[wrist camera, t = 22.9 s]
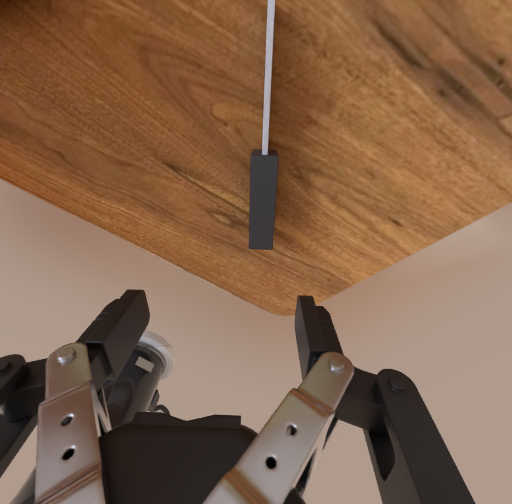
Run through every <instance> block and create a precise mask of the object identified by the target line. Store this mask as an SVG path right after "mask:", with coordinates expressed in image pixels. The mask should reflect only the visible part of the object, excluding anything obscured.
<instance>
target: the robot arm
mask: <svg viewBox="0 0 512 504" xmlns="http://www.w3.org/2000/svg"><path fill="white" fill-rule="evenodd" d="M149 318H150V313H149V308H148V303H147V299H146V295H145V292H144V290H126V292H125V293H124V294H123V295H122V296H121V298H120V299H116V300H114V301H112V302H111V303H110V304H108V305H107V306H106V307H105V308H104V309H103V310H102V312H101V314H99V315H98V317H97V318H96V319H95V320H94V321H93V322H92V324H91V325H90V326H89V327H88V328H87V329H86V331H85V332H84V333H83V334H82V335H81V336H80V338H79V339H78V340H77V341H76V342H75V343H70V344H67V345H64V346H62V347H60V348H58V349H57V350H55V351H54V352H53V353H52V354H51V355H50V356H49V357H48V358H47V359H42V360H37V361H32V362H28V363H27V362H26V361H25V359H24V358H23V356H21V355H17V354H14V355H8V356H4V357H1V358H0V413H1V414H0V477H1V476H2V475H3V473H4V471H5V470H6V469H7V467H8V466H9V464H10V463H11V461H12V460H13V459H14V457H15V456H16V454H17V453H18V451H19V450H20V448H21V447H22V445H23V444H24V443H25V441H26V440H27V438H28V437H29V435H30V434H31V432H32V431H33V429H34V428H35V427H36V425H37V424H38V428H37V457H36V466H35V467H34V469H33V470H32V472H31V473H30V475H29V476H28V478H27V479H26V481H25V482H24V484H23V485H22V487H21V488H20V490H19V491H18V493H17V494H16V495H15V497H14V498H13V499H12V501H11V502H10V503H9V504H306V503H305V502H304V500H303V497H304V495H305V493H306V491H307V489H308V487H309V485H310V482H311V481H312V478H313V476H314V474H315V472H316V469H317V467H318V464H319V462H320V459H321V457H322V455H323V453H324V451H325V449H326V447H327V444H328V442H329V440H330V438H331V436H332V434H333V432H334V430H335V428H336V426H337V424H338V422H339V420H341V421H344V422H347V423H349V424H352V425H354V426H357V427H360V428H362V429H363V431H364V435H365V439H366V442H367V446H368V450H369V454H370V458H371V461H372V465H373V469H374V472H375V476H376V480H377V484H378V487H379V492H380V495H381V499H382V503H383V504H475V502H474V500H473V498H472V496H471V494H470V492H469V490H468V488H467V486H466V485H465V482H464V481H463V478H462V476H461V475H460V473H459V471H458V469H457V467H456V465H455V463H454V461H453V459H452V457H451V455H450V453H449V451H448V449H447V447H446V445H445V443H444V441H443V439H442V437H441V435H440V433H439V431H438V429H437V427H436V425H435V423H434V421H433V419H432V417H431V415H430V413H429V411H428V409H427V407H426V405H425V404H424V401H423V399H422V398H421V396H420V394H419V392H418V390H417V388H416V386H415V384H414V383H413V382H412V380H411V379H410V378H408V377H407V376H406V375H405V374H403V373H401V372H399V371H396V370H393V369H383V370H381V371H380V372H379V373H378V374H377V375H375V374H372V373H368V372H366V371H362V370H360V369H358V368H356V367H354V366H353V365H352V363H351V361H350V360H349V359H348V358H347V357H346V356H344V354H343V352H342V349H341V346H340V343H339V340H338V337H337V334H336V331H335V329H334V326H333V323H332V320H331V316H330V313H329V312H328V311H327V310H326V309H325V308H324V307H323V306H315V302H314V298H313V296H300V295H298V297H297V305H296V313H295V333H296V340H297V346H298V353H299V360H300V366H301V373H302V380H303V382H302V383H301V384H300V386H299V387H298V388H297V389H295V388H293V389H292V390H291V391H290V392H289V393H288V394H287V396H286V397H285V398H284V400H283V401H282V402H281V404H280V405H279V406H278V408H277V409H276V410H275V412H274V413H273V415H272V416H271V417H270V419H269V420H268V422H267V423H266V424H265V426H264V427H263V428H262V430H261V431H260V433H259V434H258V433H256V432H255V431H254V430H252V429H250V428H248V427H246V426H244V425H241V416H235V415H234V416H233V415H212V416H207V417H203V418H198V419H194V420H189V421H185V420H181V419H179V418H176V417H173V416H170V413H169V411H168V409H167V408H166V407H165V406H163V405H158V406H156V405H157V402H158V400H159V393H158V390H156V388H157V386H158V384H159V381H160V379H161V376H162V374H163V373H164V371H165V368H166V360H165V358H164V356H163V355H162V354H161V352H160V351H159V350H157V349H156V348H154V347H153V346H151V345H149V344H146V343H143V342H139V339H140V337H141V336H142V334H143V332H144V330H145V329H146V327H147V325H148V322H149ZM157 410H162V411H163V412H164V413H160V412H154V411H157ZM147 411H151V412H147Z"/></svg>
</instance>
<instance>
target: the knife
mask: <svg viewBox="0 0 512 504" xmlns="http://www.w3.org/2000/svg"><path fill="white" fill-rule="evenodd" d="M274 14H275V0H268V10H267V36H266V62H265V88H264V113H263V139H262V150H253V152H252V154H251V165H250V217H249V249H262V250H272V248H273V234H274V219H275V204H276V190H277V175H278V160H279V156H278V153H277V151H276V150H268V137H269V117H270V96H271V76H272V55H273V35H274Z"/></svg>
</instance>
